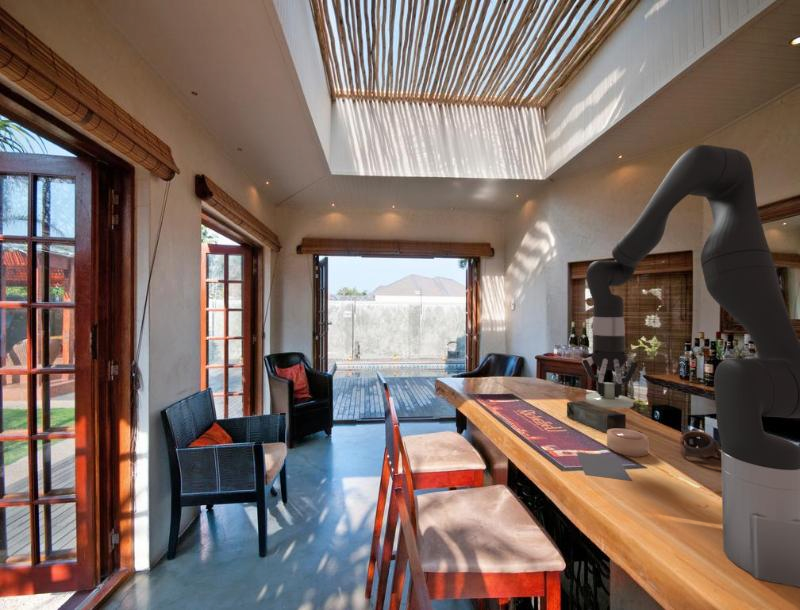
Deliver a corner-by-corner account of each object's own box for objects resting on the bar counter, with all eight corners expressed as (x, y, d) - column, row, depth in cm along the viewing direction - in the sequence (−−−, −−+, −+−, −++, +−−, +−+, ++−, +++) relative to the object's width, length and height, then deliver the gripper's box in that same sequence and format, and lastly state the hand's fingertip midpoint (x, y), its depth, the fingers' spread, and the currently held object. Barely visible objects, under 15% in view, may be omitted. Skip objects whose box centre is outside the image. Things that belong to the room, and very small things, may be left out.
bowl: (654, 461, 93) (653, 442, 93) (611, 456, 96) (611, 438, 96) (641, 447, 102) (641, 430, 102) (603, 443, 106) (603, 426, 106)
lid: (639, 410, 87) (639, 389, 87) (590, 406, 91) (590, 386, 91) (625, 398, 98) (625, 380, 98) (582, 395, 101) (582, 378, 101)
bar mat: (632, 483, 82) (632, 480, 82) (585, 476, 85) (585, 474, 85) (616, 458, 95) (616, 456, 95) (576, 454, 98) (576, 452, 98)
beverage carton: (583, 415, 134) (582, 398, 134) (627, 432, 115) (627, 413, 115) (566, 417, 132) (565, 400, 132) (608, 435, 113) (608, 415, 113)
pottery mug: (737, 467, 90) (728, 443, 89) (700, 480, 92) (691, 457, 90) (700, 439, 102) (692, 417, 100) (668, 451, 103) (659, 429, 102)
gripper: (582, 334, 93) (583, 398, 93) (643, 335, 88) (643, 402, 88) (577, 332, 100) (578, 391, 100) (633, 332, 95) (634, 394, 95)
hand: (609, 396), depth 94 cm, fingers closed on lid, 3 cm apart
